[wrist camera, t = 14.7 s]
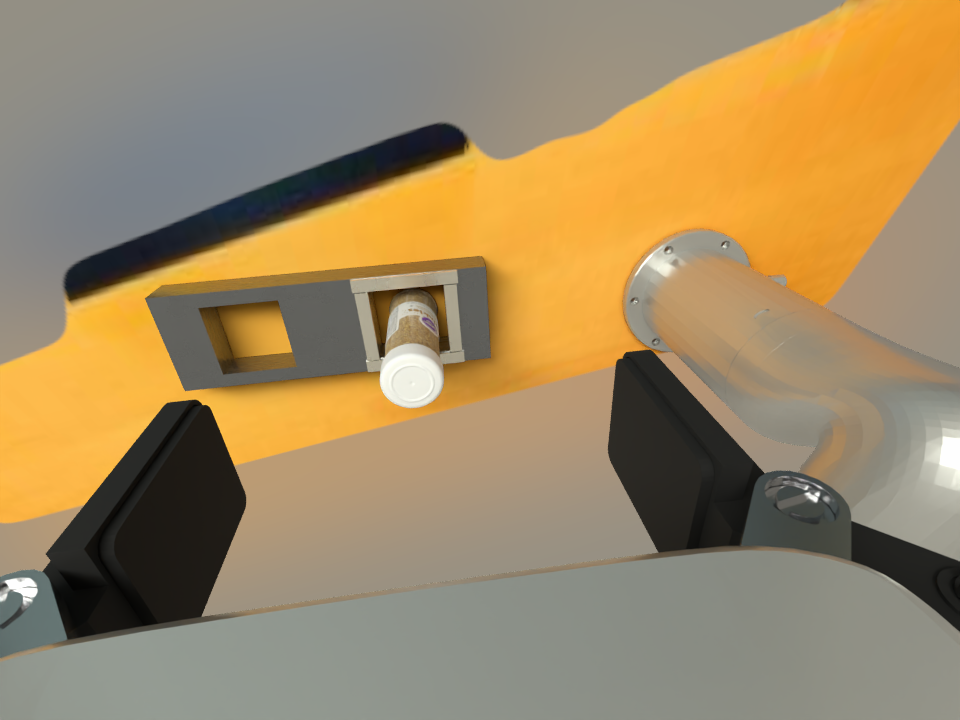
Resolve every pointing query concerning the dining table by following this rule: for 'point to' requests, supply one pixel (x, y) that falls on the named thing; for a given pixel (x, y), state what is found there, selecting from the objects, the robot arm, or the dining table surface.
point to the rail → (316, 320)
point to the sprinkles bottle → (412, 351)
